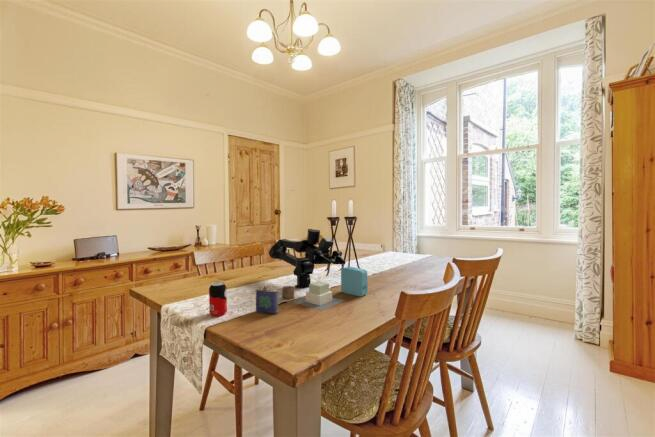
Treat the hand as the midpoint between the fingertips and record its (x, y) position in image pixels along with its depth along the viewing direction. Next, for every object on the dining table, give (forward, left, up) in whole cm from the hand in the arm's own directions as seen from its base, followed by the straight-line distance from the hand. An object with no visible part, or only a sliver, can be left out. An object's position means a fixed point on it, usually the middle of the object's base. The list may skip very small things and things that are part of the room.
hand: (338, 262), depth 136 cm
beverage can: (-24, -45, -16) cm, 53 cm away
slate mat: (-3, -10, -16) cm, 19 cm away
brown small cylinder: (-17, -15, -16) cm, 28 cm away
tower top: (-3, -10, -12) cm, 15 cm away
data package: (+2, +9, -16) cm, 19 cm away
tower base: (-3, -10, -16) cm, 18 cm away
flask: (-11, -32, -16) cm, 37 cm away
